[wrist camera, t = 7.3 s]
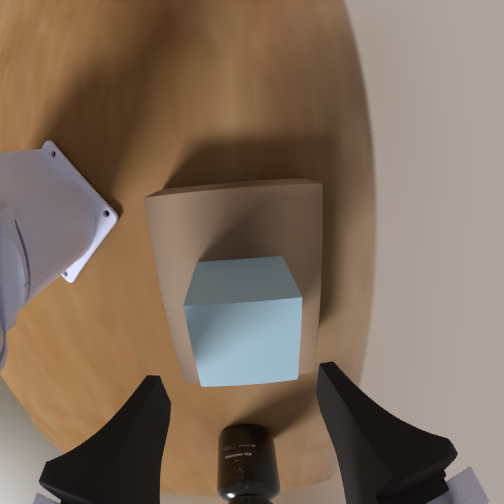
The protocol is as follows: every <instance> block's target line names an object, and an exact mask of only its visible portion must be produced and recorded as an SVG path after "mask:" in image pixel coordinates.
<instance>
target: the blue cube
mask: <svg viewBox="0 0 504 504" xmlns="http://www.w3.org/2000/svg"><path fill="white" fill-rule="evenodd" d="M183 308H184V313H185V318H186V323H187V328H188V333H189V337H190V342H191V346H192V351H193V355H194V359H195V363H196V368H197V372H198V376H199V380H200V383H201V387H211V386H234V385H249V384H261V383H271V382H281V381H289V380H296V379H298V369H299V354H300V338H301V319H302V295H301V293H300V291H299V289H298V287H297V285H296V283H295V281H294V279H293V277H292V275H291V273H290V270H289V268H288V266H287V264H286V262H285V260H284V258H283V256H276V257H262V258H248V259H234V260H220V261H206V262H197V263H196V266H195V269H194V272H193V275H192V279H191V282H190V285H189V288H188V291H187V295H186V298H185V301H184V305H183Z"/></svg>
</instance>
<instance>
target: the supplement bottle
mask: <svg viewBox="0 0 504 504" xmlns="http://www.w3.org/2000/svg"><path fill="white" fill-rule="evenodd" d="M217 491H218V494H219V496H220V497H221V498H222V499H223V500H225V501H227V502H229V504H273V503H272V502H271V500H273V499H274V498H275V497H276V496H277V495H278V494H279V492H280V481H279V474H278V466H277V459H276V451H275V444H274V438H273V435H272V433H271V432H270V431H269V430H267V429H266V428H264V427H261V426H256V425H238V426H233V427H230V428H228V429H226V430H224V431H223V432H222V433H221V434H220V436H219V441H218V474H217Z"/></svg>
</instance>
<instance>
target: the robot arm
mask: <svg viewBox="0 0 504 504" xmlns="http://www.w3.org/2000/svg"><path fill="white" fill-rule="evenodd" d="M54 152H55V153H56V154H55V157H54ZM106 210H107V211H109V216H107V215H106ZM118 218H119V217H118V214H117V213H116V212H115V211H114V210H113V208H112V207H111V206H110V205H109V204H108V203H107V202H106V201H105V200H104V199H103V198H102V197H101V196H100V195H99V194H98V193H97V192H96V190H95V189H94V188H93V187H92V186H91V185H90V184H89V183H88V182H87V181H86V180H85V178H84V177H83V176H82V175H81V174H80V173H79V172H78V171H77V169H76V168H75V167H74V166H73V165H72V164H71V163H70V161H69V160H68V159H67V158H66V157H65V156H64V155H63V153H62V152H61V151H60V150H59V149H58V147H57V146H56V145H55V144H54V143H53V142H52V141H46V142H45V143H44V145H43V146H42V148H41V149H35V150H20V151H9V152H0V372H1V370H2V369H3V367H4V365H5V362H6V358H7V352H8V350H7V340H6V333H7V332H8V331H9V330H10V329H11V328H12V327H13V326H14V325H15V324H16V315H17V313H18V312H19V311H20V310H21V309H22V308H23V307H25V306H26V305H27V304H28V303H29V302H30V301H31V300H32V299H33V298H34V297H36V296H37V295H38V294H39V293H40V292H41V291H42V290H43V289H45V288H46V287H47V286H48V285H49V284H50V283H52V282H53V281H54V280H55V279H56V278H57V277H59V276H60V275H62V276H63V277H64V278H65V279H66V280H67V281H68V282H70V283H72V282H73V281H74V280H75V279H76V278H77V276H78V275H79V273H80V272H81V270H82V269H83V267H84V266H85V264H86V263H87V262H88V260H89V259H90V257H91V256H92V255H93V253H94V252H95V250H96V249H97V248H98V246H99V245H100V244H101V242H102V241H103V240H104V238H105V237H106V236H107V234H108V233H109V232H110V230H111V229H112V228H113V227H114V225H115V224H116V223H117V221H118ZM65 271H66V272H67V273H68V274H66V272H65ZM316 394H317V398H318V403H319V407H320V411H321V414H322V416H323V419H324V422H325V424H326V427H327V430H328V432H329V435H330V438H331V440H332V443H333V445H334V448H335V451H336V455H337V459H338V463H339V467H340V471H341V476H342V481H343V486H344V492H345V498H346V503H347V504H487V503H488V502H489V500H488V498H487V496H486V494H485V492H484V490H483V488H482V486H481V484H480V483H479V481H478V479H477V477H476V475H475V474H474V472H473V470H472V468H471V467H468V468H467V469H466V470H464V471H462V472H461V473H459V474H457V475H456V476H454V477H453V478H451V479H450V480H448V481H447V482H445V480H444V478H445V477H446V473H445V471H444V470H445V469H446V468H447V467H448V466H449V465H450V463H452V462H453V461H454V459H455V458H456V456H457V454H458V453H457V451H456V449H455V448H454V446H453V444H452V443H451V441H450V440H449V439H448V438H444V437H441V436H438V435H434V434H431V433H428V432H426V431H423V430H420V429H418V428H416V427H414V426H412V425H410V424H407V423H406V422H404V421H402V420H400V419H399V418H397V417H395V416H394V415H392V414H390V413H389V412H388V411H386V410H385V409H383V408H382V407H380V406H379V405H378V404H376V403H375V402H374V401H373V400H372V399H370V398H369V397H368V396H367V395H366V394H365V393H363V392H362V391H361V390H360V389H359V388H358V387H357V386H356V385H355V384H354V383H353V382H352V381H351V380H350V379H349V378H348V377H347V376H346V375H345V374H344V373H343V372H342V371H341V370H340V368H339V367H338V366H337V365H336V364H335V363H334V362H333V361H332V362H327V363H321V364H320V365H319V374H318V383H317V391H316ZM170 411H171V402H170V400H169V398H168V395H167V393H166V390H165V388H164V386H163V383H162V381H161V378H160V376H151V375H147V376H146V378H145V379H144V380H143V381H142V383H141V384H140V385H139V387H138V388H137V389H136V390H135V392H134V393H133V394H132V396H131V397H130V398H129V399H128V400H127V402H126V403H125V404H124V405H123V406H122V408H121V409H120V410H119V411H118V412H117V413H116V414H115V415H114V416H113V418H112V419H111V420H110V421H109V422H108V423H107V424H106V425H105V426H104V427H102V428H101V429H100V430H99V431H98V432H97V433H96V434H94V435H93V436H92V437H90V438H89V439H88V440H86V441H85V442H84V443H82V444H81V445H79V446H78V447H76V448H74V449H73V450H71V451H69V452H67V453H65V454H64V455H62V456H59V457H57V458H55V459H53V460H50V461H48V462H46V464H45V467H44V469H43V472H42V474H41V477H40V479H39V483H40V485H41V486H43V487H44V488H45V489H46V490H48V491H49V492H50V493H52V494H53V495H55V496H56V497H57V498H59V499H60V500H61V503H60V504H160V497H159V496H160V471H161V461H162V456H163V451H164V446H165V441H166V437H167V432H168V427H169V422H170ZM33 504H59V503H57V502H55V501H53V500H51V499H49V498H47V497H45V496H43V495H41V494H39V493H37V494H36V497H35V500H34V503H33Z"/></svg>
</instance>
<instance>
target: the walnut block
mask: <svg viewBox="0 0 504 504" xmlns="http://www.w3.org/2000/svg"><path fill="white" fill-rule="evenodd" d="M145 205H146V212H147V219H148V226H149V232H150V238H151V244H152V250H153V255H154V260H155V266H156V271H157V276H158V280H159V285H160V290H161V294H162V299H163V303H164V307H165V311H166V315H167V319H168V323H169V327H170V331H171V335H172V339H173V342H174V346H175V349H176V353H177V356H178V360H179V363H180V366H181V370H182V373H183V376H184V379H185V382H186V383H200V380H199V376H198V372H197V368H196V363H195V359H194V355H193V351H192V346H191V342H190V337H189V333H188V328H187V323H186V318H185V313H184V308H183V305H184V301H185V298H186V295H187V291H188V288H189V285H190V282H191V279H192V275H193V272H194V269H195V266H196V263H197V262H206V261H220V260H234V259H248V258H262V257H276V256H283V258H284V260H285V262H286V264H287V266H288V268H289V270H290V273H291V275H292V277H293V279H294V281H295V283H296V285H297V287H298V289H299V291H300V293H301V295H302V319H301V338H300V354H299V369H298V374H305V373H311V372H314V368H315V359H316V349H317V338H318V326H319V312H320V296H321V276H322V245H323V184H322V183H319V182H316V181H313V180H310V179H306V178H291V179H270V180H253V181H239V182H226V183H215V184H205V185H195V186H186V187H177V188H169V189H162V190H160V191H158V192H155V193H153V194H151V195H149V196H147V197H145Z"/></svg>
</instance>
